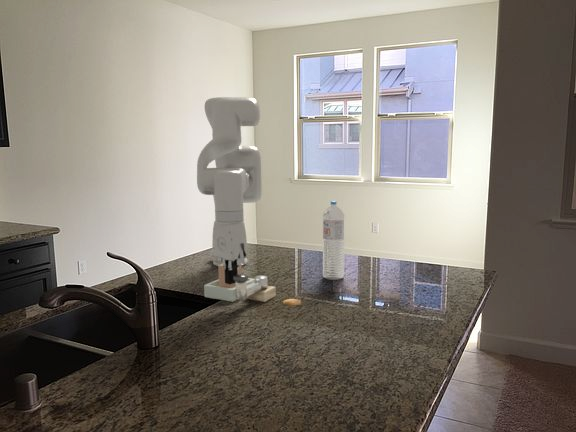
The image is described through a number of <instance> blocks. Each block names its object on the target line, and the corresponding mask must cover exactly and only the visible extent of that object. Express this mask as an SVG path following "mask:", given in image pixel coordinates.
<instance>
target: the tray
mask: <svg viewBox="0 0 576 432" xmlns="http://www.w3.org/2000/svg"><path fill="white" fill-rule="evenodd" d="M253 282H255V278H251V277H248V280H247V285H249V284H251V283H253ZM203 290H204V298H209V299H213V300H215V299H216V300H222V301H227V302H232V303H233V302H236V301H237V300H238V299H236V290H235V287H234V288H232V289H231V288H225V287H219V278H218V279H216V280H213V281H211V282H209V283H206V284H204V285H203Z"/></svg>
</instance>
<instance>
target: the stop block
mask: <svg viewBox="0 0 576 432" xmlns="http://www.w3.org/2000/svg"><path fill="white" fill-rule="evenodd" d="M233 262H234V261H233ZM242 266H243V265H239V268H238V274H243V272H242V271H243V268H242ZM217 267H218V269H217V270H218V279H219V287H225V288H231V289H232V288H234V287H235V283H233V284H226V283H225V269H224V268H223V264H220V265H218V266H217Z"/></svg>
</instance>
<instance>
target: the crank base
mask: <svg viewBox="0 0 576 432" xmlns="http://www.w3.org/2000/svg"><path fill="white" fill-rule="evenodd" d="M276 287H277V286H273V285H268V288H266V289H261V290H259V291H257V292H255V293H253V294H251V295H250V296H248V297H247V298H246V299H248V300H253V301H257V302H258V301H259V302H264V303H265V302H268V301H269V300H271V299H272V298H275V297H277V288H276ZM282 303H283V305H285V306H292V307H293V306H299V305H301V303H302V301H301V300H300V299H297V298H289V299H288V298H287V299H285V300H283V301H282Z"/></svg>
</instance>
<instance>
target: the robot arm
mask: <svg viewBox="0 0 576 432" xmlns="http://www.w3.org/2000/svg"><path fill="white" fill-rule="evenodd" d="M204 112H205V116H206V119H207V120H208V123H209V125H210V127H211V130H212V139H211V140H210V141H209V142H208V143H206V145H205V146H204V147H203V148H202V150H201V151H200V153H199V155H198V158H197V161H196V162H197V163H196V186H197V189H198V191H199V192H200V193H201V194H202V195H205V196H213V201H214V214H215V216H214V218H215V220H214V221H213V227H212V229H213V230H212V246H211V247H212V249H211V250H210V252H209V256H211V257H214V259H213V260H212V262H213V263H212V265H214V266H216V267H218V265H220V264H223V268H224V269H225V283H226V284H233V283H235V281H234V280H233V276H234V275H236V274H238V268H239V265H242V266H244V265H247V264H248V262H249V261H248V259H249V258H247V255H248V242H247V231H246V225H245V221H244V220H245V219H244V204H246V203H247V204H249V203H250V204H251V203H253V204H254V203H257V202H259V201H260V200H261V197H262V157H261V153H260V150H259V149H258V148H257V147H256V146H254V145H246V146H245V145H241V144H242V129H241V127H256V126H258V125H259V123H260V120H261V119H260V118H261V110H260V105H259V102H258V101H257V99H256V98H254V97H249V96H245V97H243V96H241V97H239V96H237V97H235V96H234V97H233V96H231V97H230V96H221V97H212V98H211V97H210V98H209V99H207V100H206V101H204ZM214 161H215V167H208V166H209V164H210V163H212V162H214ZM233 261H234V262H233Z"/></svg>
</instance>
